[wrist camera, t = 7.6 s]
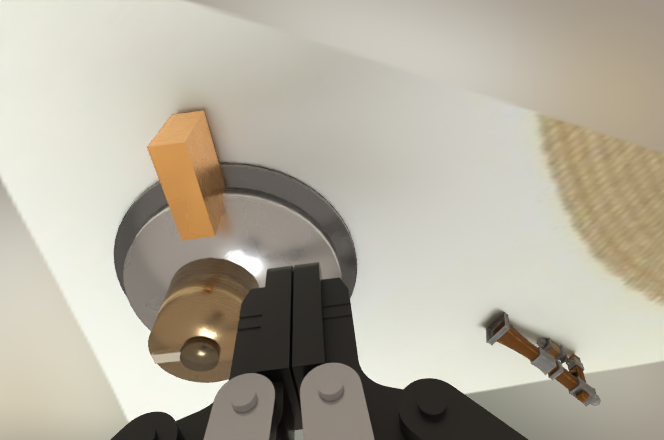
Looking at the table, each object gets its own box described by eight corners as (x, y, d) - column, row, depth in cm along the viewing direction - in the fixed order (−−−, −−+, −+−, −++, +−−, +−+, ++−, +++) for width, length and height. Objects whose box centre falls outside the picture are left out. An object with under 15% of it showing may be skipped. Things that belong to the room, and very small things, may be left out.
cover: (250, 252, 23) (240, 315, 19) (268, 320, 26) (261, 386, 22) (157, 263, 23) (128, 327, 20) (184, 329, 26) (163, 397, 22)
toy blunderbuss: (576, 375, 32) (590, 420, 28) (485, 309, 33) (486, 344, 29) (595, 360, 31) (613, 404, 27) (502, 293, 32) (505, 326, 28)
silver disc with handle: (349, 336, 29) (355, 385, 26) (169, 358, 29) (152, 410, 26) (316, 95, 20) (318, 124, 17) (60, 129, 20) (15, 164, 17)
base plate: (343, 146, 22) (344, 150, 22) (365, 337, 30) (365, 341, 30) (74, 182, 23) (70, 185, 22) (162, 361, 30) (160, 366, 30)
